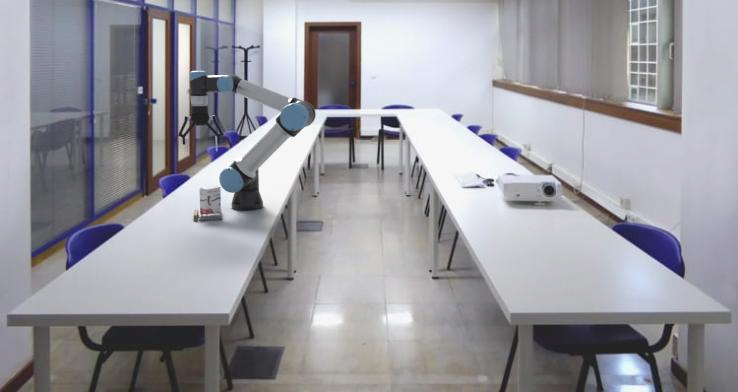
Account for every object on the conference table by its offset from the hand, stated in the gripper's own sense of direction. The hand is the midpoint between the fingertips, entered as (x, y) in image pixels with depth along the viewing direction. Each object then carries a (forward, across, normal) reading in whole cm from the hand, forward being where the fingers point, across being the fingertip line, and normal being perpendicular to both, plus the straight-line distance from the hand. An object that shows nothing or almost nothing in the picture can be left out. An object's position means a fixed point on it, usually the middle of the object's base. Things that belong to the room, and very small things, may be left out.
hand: (201, 151), depth 329 cm
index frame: (+29, +3, -12) cm, 31 cm away
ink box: (+27, +3, -12) cm, 30 cm away
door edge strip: (+29, -4, -12) cm, 31 cm away
